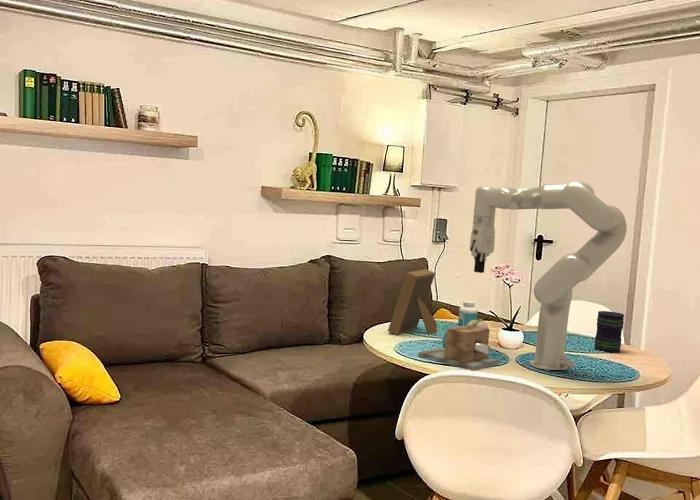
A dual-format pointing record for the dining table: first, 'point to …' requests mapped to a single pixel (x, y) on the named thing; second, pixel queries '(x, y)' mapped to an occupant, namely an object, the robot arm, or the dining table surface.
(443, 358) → the bearing block
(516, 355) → the dining table surface
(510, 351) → the dining table surface
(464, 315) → the pill bottle
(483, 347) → the shaft
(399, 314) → the photo frame
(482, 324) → the decorative fruit
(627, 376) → the dining table surface
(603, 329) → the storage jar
